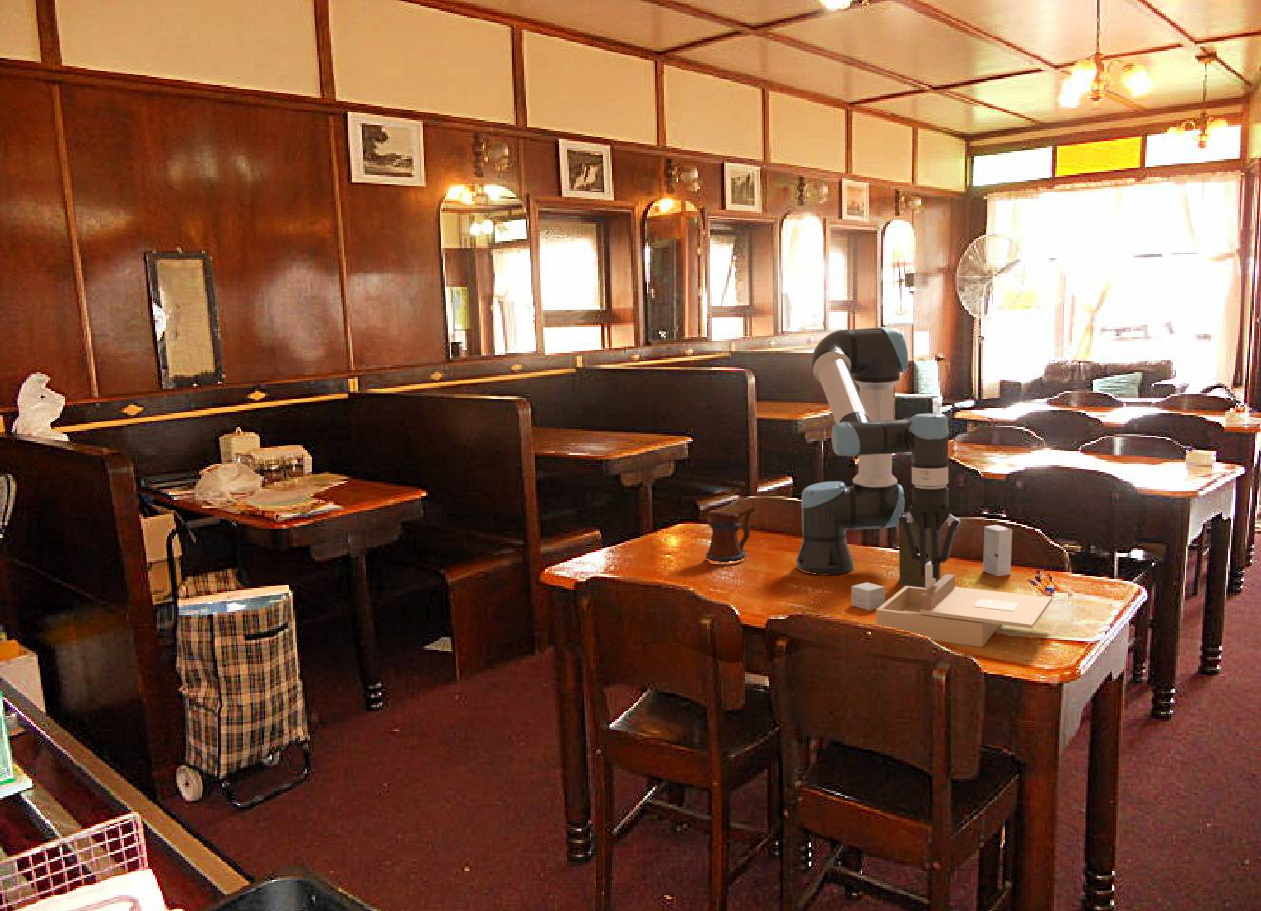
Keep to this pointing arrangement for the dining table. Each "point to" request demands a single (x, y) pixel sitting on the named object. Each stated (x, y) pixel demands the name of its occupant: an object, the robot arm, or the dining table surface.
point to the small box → (867, 596)
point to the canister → (907, 565)
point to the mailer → (930, 620)
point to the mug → (728, 535)
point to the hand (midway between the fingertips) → (930, 591)
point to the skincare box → (997, 550)
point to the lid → (982, 604)
